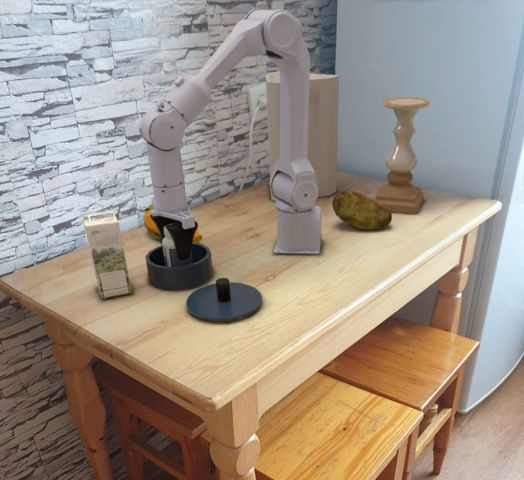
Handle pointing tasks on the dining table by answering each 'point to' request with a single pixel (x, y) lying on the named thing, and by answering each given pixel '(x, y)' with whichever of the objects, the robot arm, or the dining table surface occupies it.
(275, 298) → the dining table surface
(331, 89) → the paper bag
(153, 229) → the corn
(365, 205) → the potato
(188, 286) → the pot
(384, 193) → the candle holder
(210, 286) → the lid
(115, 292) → the syrup box
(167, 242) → the pill bottle
